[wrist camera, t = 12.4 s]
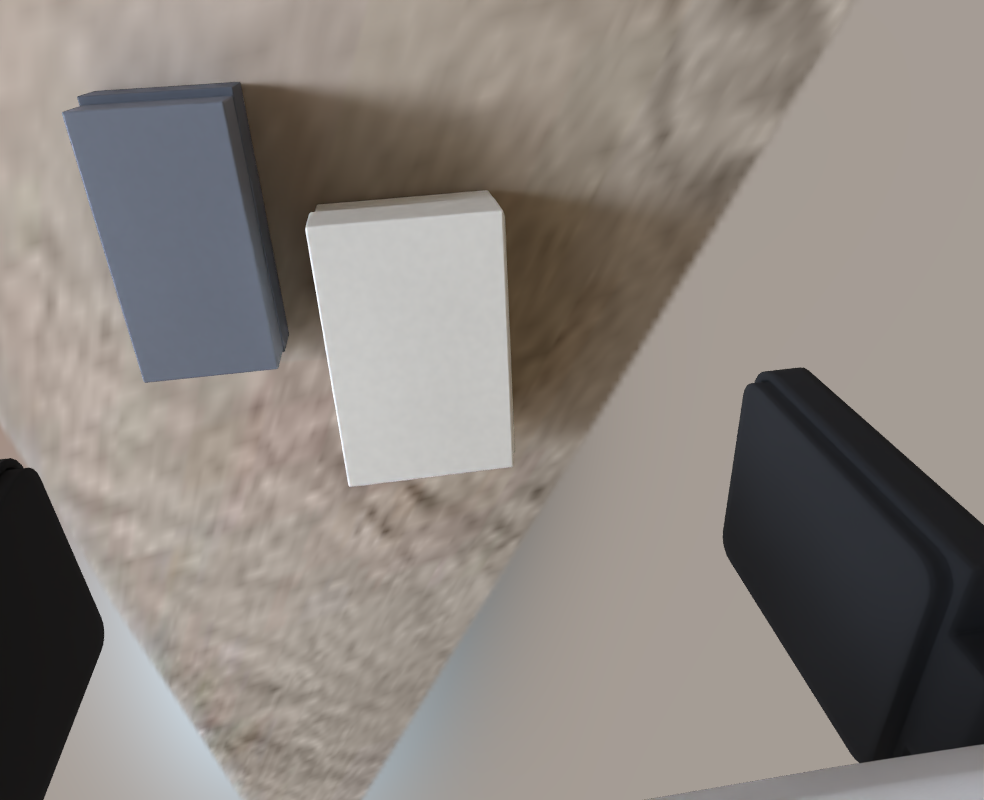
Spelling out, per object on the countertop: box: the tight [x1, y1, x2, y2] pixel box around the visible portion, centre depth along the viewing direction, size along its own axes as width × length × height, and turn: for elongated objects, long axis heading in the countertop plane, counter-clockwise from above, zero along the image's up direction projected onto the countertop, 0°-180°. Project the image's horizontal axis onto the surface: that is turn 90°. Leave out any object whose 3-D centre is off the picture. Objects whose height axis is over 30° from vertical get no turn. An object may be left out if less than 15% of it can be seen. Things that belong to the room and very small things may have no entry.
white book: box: [305, 197, 514, 487], centre depth 29 cm, size 11×7×2 cm, turn 3°
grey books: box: [62, 82, 289, 383], centre depth 29 cm, size 11×6×4 cm, turn 3°
